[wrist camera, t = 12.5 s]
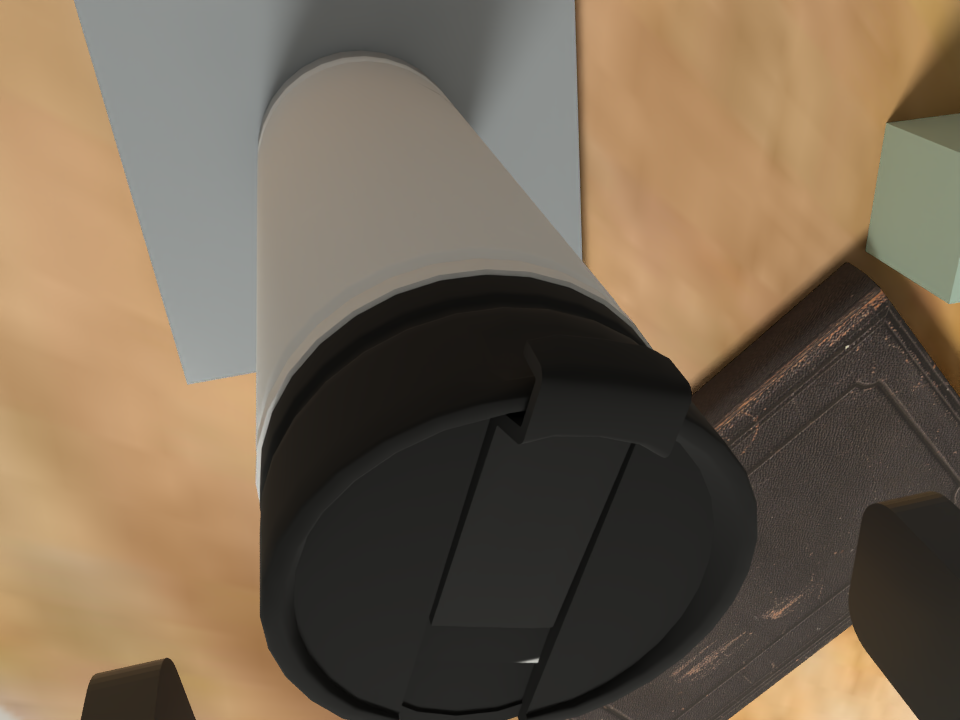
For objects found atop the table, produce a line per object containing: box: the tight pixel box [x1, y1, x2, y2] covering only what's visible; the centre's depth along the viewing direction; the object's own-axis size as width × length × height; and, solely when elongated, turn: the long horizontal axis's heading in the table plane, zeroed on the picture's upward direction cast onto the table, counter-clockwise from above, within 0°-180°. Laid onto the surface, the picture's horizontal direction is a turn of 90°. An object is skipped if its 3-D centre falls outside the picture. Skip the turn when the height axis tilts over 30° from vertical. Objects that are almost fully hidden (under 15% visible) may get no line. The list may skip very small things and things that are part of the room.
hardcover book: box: [566, 263, 960, 720], centre depth 40 cm, size 16×23×2 cm
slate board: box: [74, 0, 582, 384], centre depth 28 cm, size 14×14×1 cm
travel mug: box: [256, 50, 758, 720], centre depth 19 cm, size 6×7×20 cm
